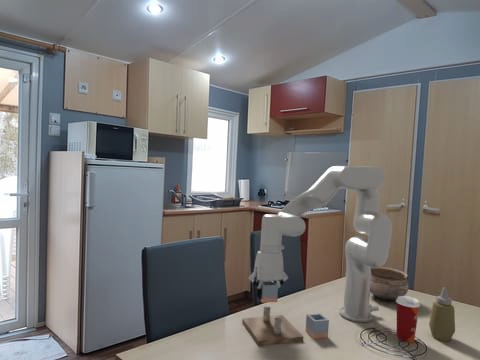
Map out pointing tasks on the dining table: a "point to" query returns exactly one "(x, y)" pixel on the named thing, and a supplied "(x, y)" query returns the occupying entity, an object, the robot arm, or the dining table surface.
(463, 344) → the dining table surface
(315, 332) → the sleeve
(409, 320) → the paper cup
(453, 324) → the squeeze bottle
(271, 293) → the sleeve
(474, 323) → the dining table surface
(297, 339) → the pin board
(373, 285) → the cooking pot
